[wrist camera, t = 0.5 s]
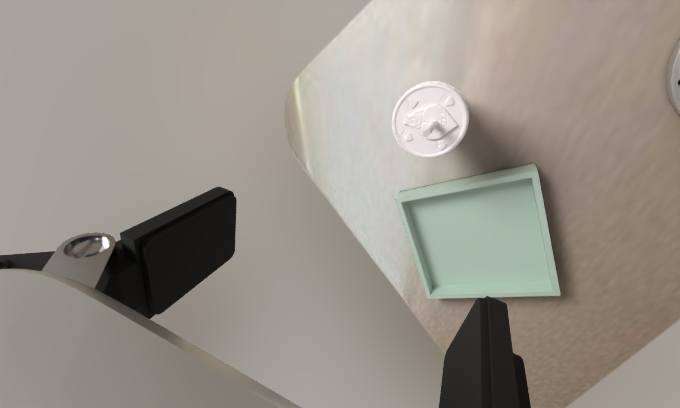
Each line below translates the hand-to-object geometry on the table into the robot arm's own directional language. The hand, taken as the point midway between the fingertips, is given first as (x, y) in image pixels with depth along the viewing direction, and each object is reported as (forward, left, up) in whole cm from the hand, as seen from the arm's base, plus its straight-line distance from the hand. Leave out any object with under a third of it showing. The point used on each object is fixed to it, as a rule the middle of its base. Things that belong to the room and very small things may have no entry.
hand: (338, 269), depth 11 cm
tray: (-1, +14, -28) cm, 32 cm away
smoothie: (-1, -2, -29) cm, 29 cm away
